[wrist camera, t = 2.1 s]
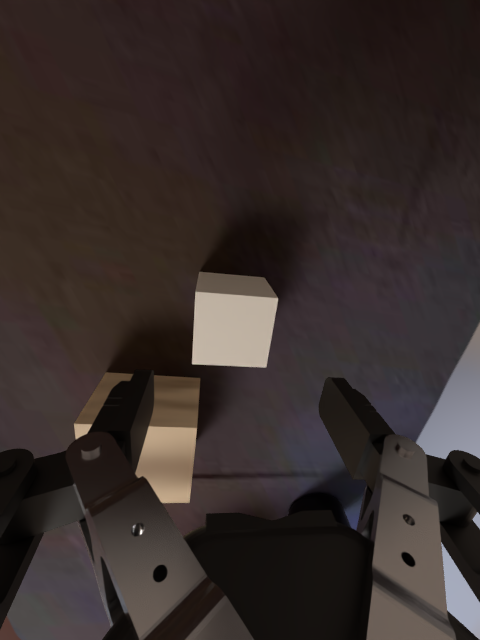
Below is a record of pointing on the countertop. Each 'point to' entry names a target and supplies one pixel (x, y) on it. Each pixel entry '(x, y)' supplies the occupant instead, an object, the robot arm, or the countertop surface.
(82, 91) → the countertop surface
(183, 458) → the oak block
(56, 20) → the countertop surface
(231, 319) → the cream cube
